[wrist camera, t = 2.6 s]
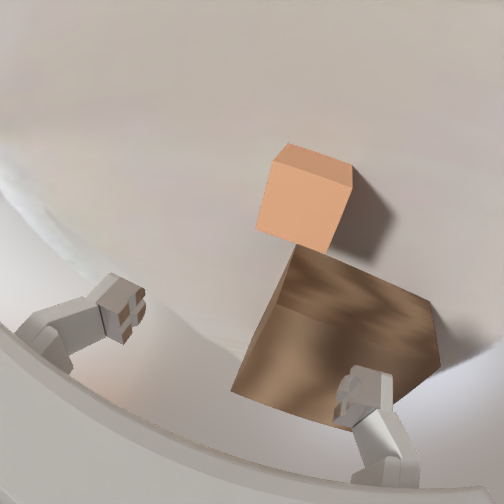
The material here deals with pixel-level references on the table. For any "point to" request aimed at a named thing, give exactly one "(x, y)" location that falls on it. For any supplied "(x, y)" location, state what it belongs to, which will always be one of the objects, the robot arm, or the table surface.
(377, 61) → the table surface
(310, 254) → the walnut box
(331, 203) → the cube
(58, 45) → the table surface
